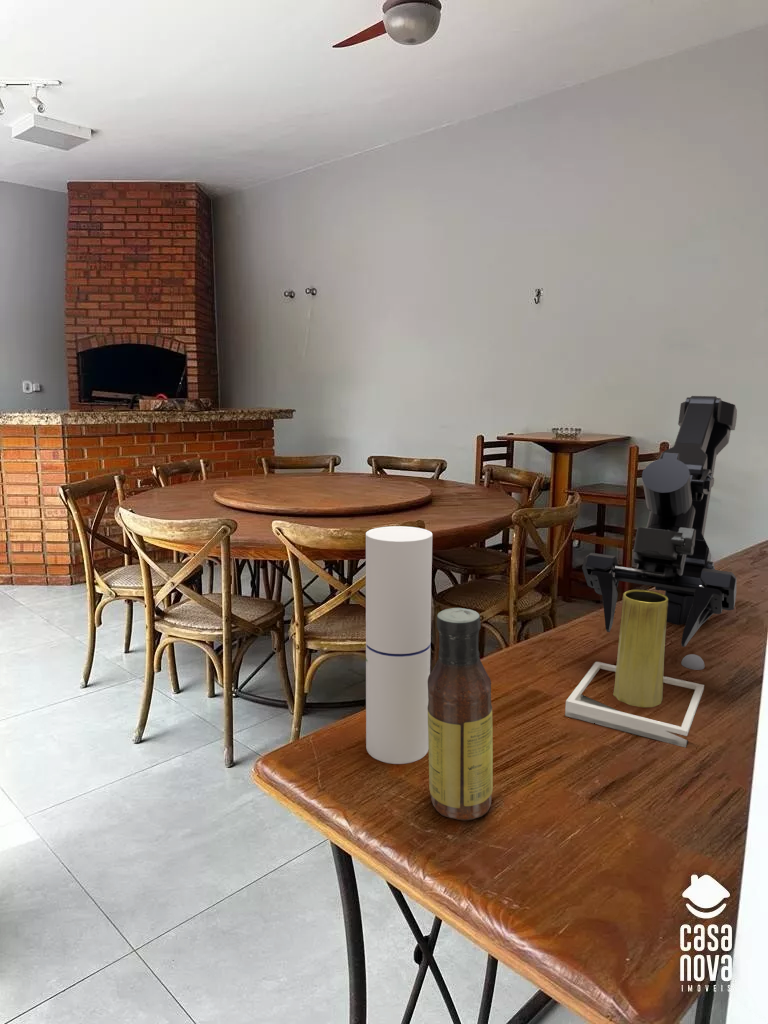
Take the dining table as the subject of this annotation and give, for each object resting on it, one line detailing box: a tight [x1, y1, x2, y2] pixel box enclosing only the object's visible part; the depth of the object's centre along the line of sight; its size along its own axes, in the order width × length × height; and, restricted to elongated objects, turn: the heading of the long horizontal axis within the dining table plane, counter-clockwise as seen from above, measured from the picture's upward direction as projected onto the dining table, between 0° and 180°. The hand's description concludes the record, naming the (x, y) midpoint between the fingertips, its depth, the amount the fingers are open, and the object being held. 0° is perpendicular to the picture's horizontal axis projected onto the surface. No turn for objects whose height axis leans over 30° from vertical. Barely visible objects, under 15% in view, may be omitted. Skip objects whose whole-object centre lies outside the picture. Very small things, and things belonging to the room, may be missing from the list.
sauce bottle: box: [428, 607, 494, 821], centre depth 66 cm, size 7×6×20 cm
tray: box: [564, 661, 705, 748], centre depth 87 cm, size 14×14×2 cm
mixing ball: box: [680, 653, 705, 671], centre depth 97 cm, size 3×3×3 cm
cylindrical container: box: [365, 525, 434, 765], centre depth 76 cm, size 7×7×25 cm
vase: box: [612, 589, 668, 708], centre depth 86 cm, size 6×6×14 cm
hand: (644, 637), depth 88 cm, fingers open, 9 cm apart
